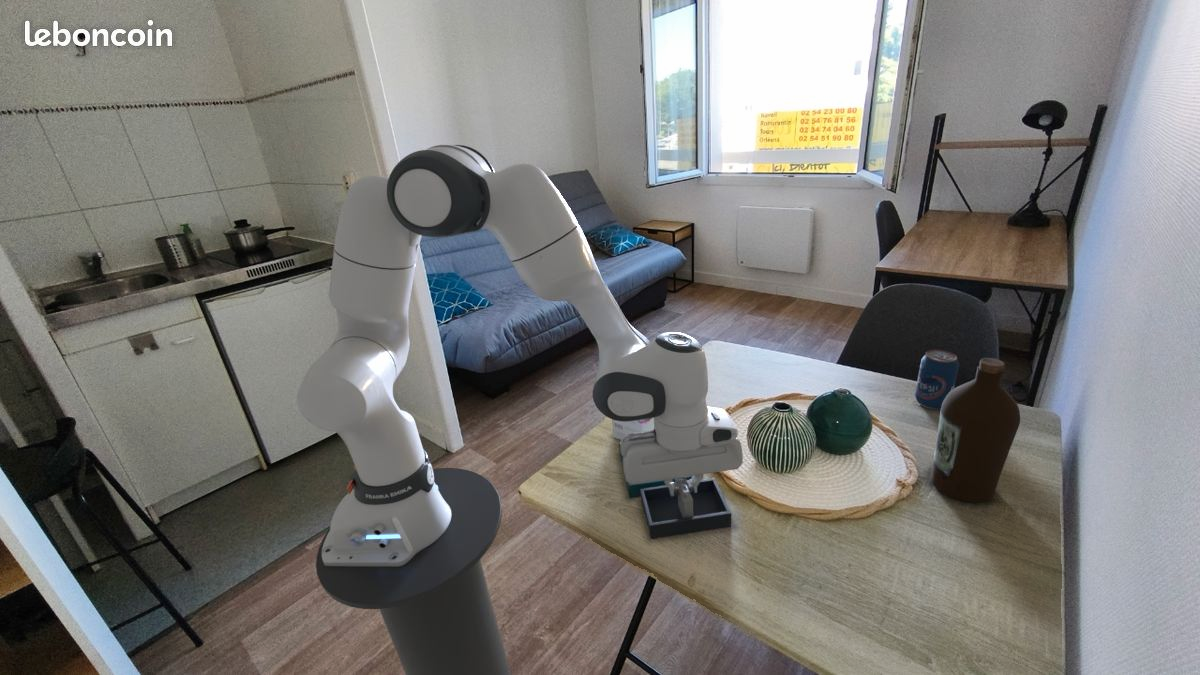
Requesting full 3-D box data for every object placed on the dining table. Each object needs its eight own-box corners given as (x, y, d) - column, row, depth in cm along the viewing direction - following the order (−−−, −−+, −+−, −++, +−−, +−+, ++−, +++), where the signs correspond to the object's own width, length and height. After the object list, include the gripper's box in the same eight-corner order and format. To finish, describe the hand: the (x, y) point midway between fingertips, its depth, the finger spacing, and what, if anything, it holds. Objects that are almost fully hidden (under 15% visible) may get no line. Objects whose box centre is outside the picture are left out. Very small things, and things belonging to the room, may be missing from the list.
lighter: (693, 519, 87) (692, 483, 83) (683, 521, 86) (682, 485, 83) (683, 491, 93) (682, 456, 90) (674, 492, 93) (672, 458, 90)
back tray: (629, 498, 95) (628, 485, 94) (619, 455, 107) (618, 443, 106) (702, 487, 96) (702, 474, 95) (684, 446, 108) (684, 434, 107)
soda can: (908, 403, 114) (917, 356, 110) (920, 391, 118) (929, 345, 113) (943, 414, 109) (953, 366, 105) (954, 401, 113) (965, 354, 108)
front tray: (650, 539, 86) (649, 525, 85) (640, 501, 94) (639, 488, 93) (731, 527, 87) (731, 513, 85) (714, 490, 95) (714, 477, 94)
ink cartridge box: (656, 438, 112) (653, 380, 106) (643, 449, 108) (639, 390, 102) (625, 426, 117) (621, 370, 111) (612, 437, 114) (606, 380, 108)
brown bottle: (981, 467, 94) (1014, 347, 84) (1010, 508, 84) (1051, 379, 74) (917, 464, 96) (941, 347, 86) (939, 503, 87) (968, 377, 77)
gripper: (621, 447, 79) (627, 513, 85) (747, 429, 80) (745, 496, 86) (616, 424, 85) (622, 488, 91) (733, 408, 86) (732, 472, 92)
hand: (683, 492), depth 88 cm, fingers closed on lighter, 2 cm apart
